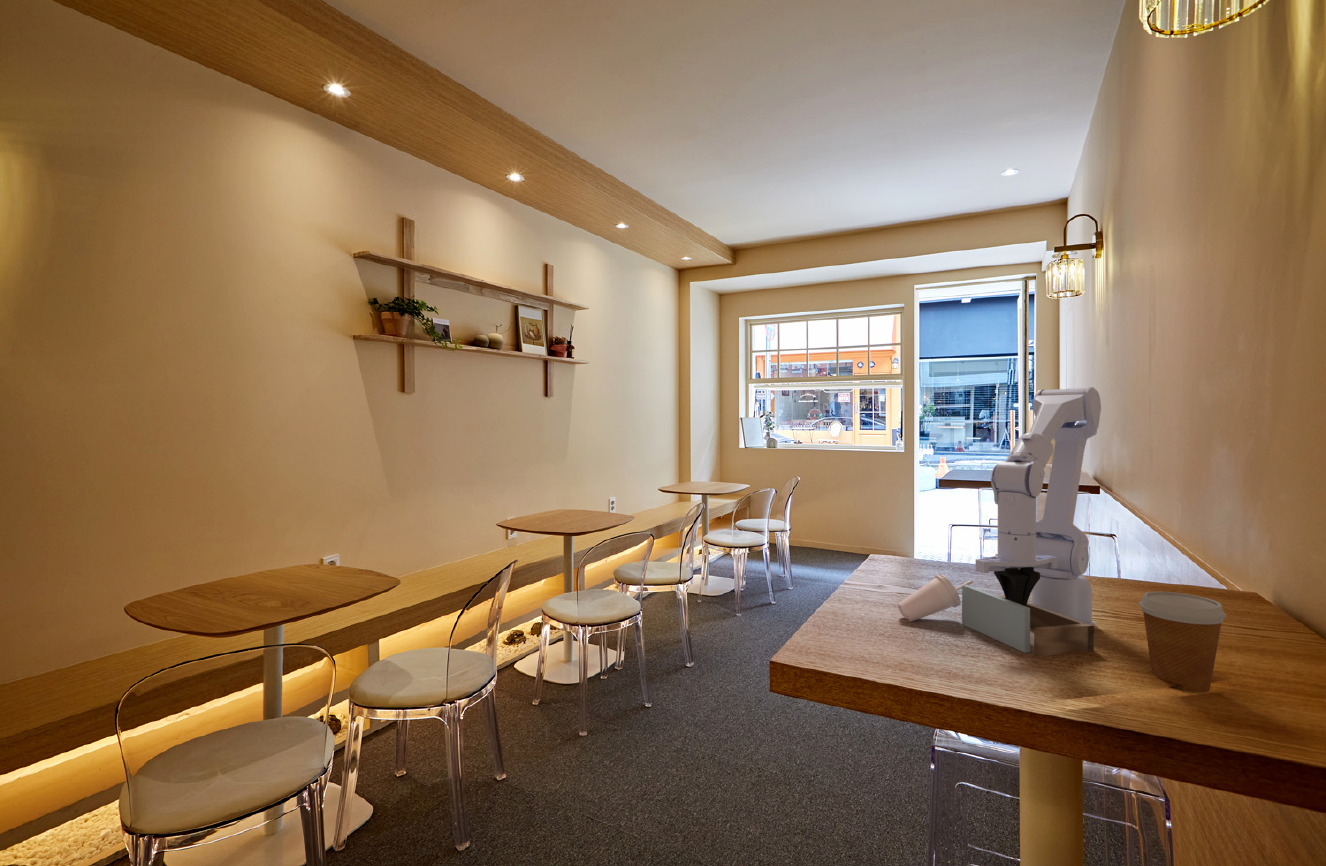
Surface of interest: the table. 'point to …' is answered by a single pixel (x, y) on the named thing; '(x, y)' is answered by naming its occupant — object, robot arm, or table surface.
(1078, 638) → the box
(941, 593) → the smoothie
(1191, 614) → the disposable coffee cup
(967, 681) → the table surface
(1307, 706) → the table surface
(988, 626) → the panel
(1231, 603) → the table surface
